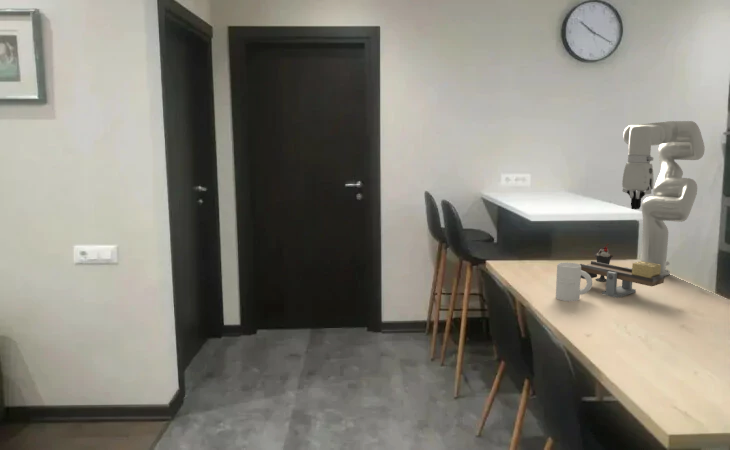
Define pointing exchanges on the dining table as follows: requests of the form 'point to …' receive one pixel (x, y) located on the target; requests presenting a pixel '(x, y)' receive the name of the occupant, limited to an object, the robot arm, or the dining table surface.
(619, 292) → the pivot stand
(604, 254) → the sundae
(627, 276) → the beam
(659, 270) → the block
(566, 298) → the mug
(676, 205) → the robot arm
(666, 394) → the dining table surface
